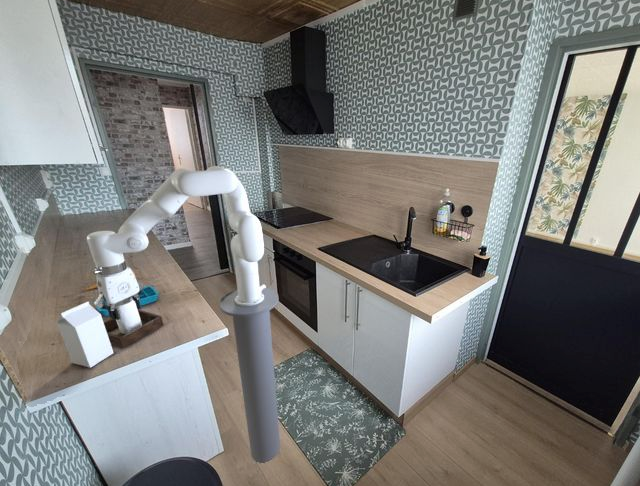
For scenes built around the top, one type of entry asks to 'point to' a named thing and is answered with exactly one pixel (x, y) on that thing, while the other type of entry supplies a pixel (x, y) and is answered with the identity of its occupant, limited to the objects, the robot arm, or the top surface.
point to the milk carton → (84, 335)
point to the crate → (127, 339)
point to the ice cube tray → (145, 297)
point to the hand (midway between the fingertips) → (126, 312)
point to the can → (127, 315)
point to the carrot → (96, 284)
